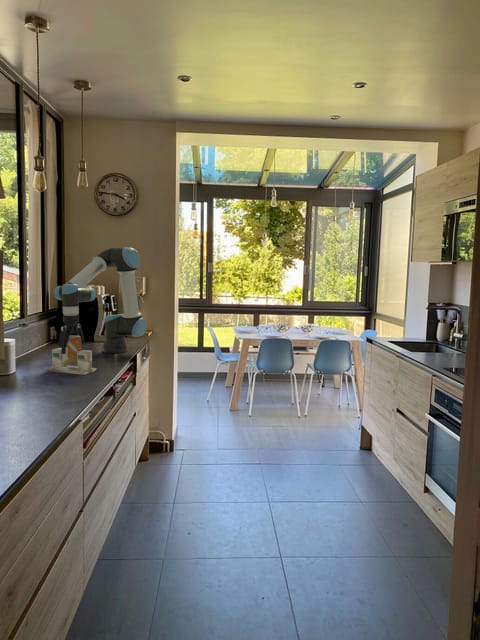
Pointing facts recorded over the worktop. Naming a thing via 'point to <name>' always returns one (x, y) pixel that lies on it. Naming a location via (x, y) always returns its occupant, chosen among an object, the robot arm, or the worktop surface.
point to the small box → (73, 348)
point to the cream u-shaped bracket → (82, 366)
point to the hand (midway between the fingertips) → (72, 358)
